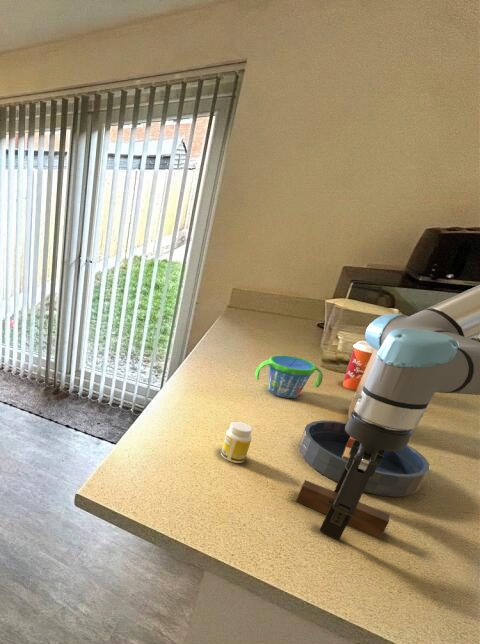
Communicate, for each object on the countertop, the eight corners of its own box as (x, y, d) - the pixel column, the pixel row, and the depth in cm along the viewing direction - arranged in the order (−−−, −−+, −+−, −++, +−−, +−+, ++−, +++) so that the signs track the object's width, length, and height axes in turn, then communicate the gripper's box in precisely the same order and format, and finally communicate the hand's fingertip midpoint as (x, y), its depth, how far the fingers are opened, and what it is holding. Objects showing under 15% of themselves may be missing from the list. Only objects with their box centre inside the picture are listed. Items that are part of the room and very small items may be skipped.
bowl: (419, 467, 86) (431, 447, 84) (414, 514, 74) (427, 491, 72) (307, 429, 99) (314, 411, 97) (288, 464, 88) (295, 444, 85)
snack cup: (253, 395, 116) (262, 364, 112) (248, 380, 124) (257, 351, 120) (320, 407, 109) (333, 374, 105) (310, 390, 118) (321, 360, 114)
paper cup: (339, 388, 118) (357, 346, 113) (336, 379, 124) (352, 338, 119) (375, 395, 114) (395, 352, 109) (369, 385, 120) (388, 343, 114)
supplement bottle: (248, 458, 90) (258, 427, 86) (239, 466, 87) (249, 435, 84) (225, 447, 93) (234, 418, 90) (216, 455, 91) (225, 425, 87)
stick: (381, 531, 71) (390, 514, 69) (379, 538, 69) (389, 522, 68) (298, 495, 79) (305, 479, 77) (295, 501, 77) (302, 485, 76)
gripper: (362, 387, 76) (323, 474, 84) (340, 439, 61) (296, 538, 69) (418, 402, 70) (371, 493, 79) (410, 463, 55) (352, 567, 64)
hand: (336, 514), depth 74 cm, fingers open, 13 cm apart
